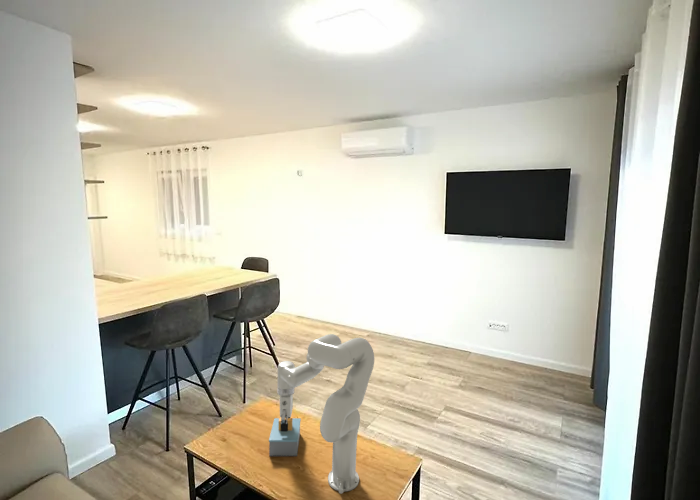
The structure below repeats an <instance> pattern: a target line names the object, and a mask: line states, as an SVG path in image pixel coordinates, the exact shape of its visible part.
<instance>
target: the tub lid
mask: <svg viewBox="0 0 700 500" xmlns="http://www.w3.org/2000/svg"><path fill="white" fill-rule="evenodd" d="M301 419H302V418H297V417H296V418H293V417H290V418H288V421H287V422H288V431H287V432H281V431H280V430H281V417H275V418H274V419H273V423H272V426H271V430H270V434H269V438H268V442H298V435H299V428H300V429H301V422H302V421H301ZM285 420H286V418H285Z"/></svg>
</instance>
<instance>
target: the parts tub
mask: <svg viewBox="0 0 700 500" xmlns="http://www.w3.org/2000/svg"><path fill="white" fill-rule="evenodd" d="M300 435H301V427H300V428H299V435H298V442H269V441H268V442H269V447H268V448H269V449H268V450H269V453H268V454H269V457H298V452H299V451H298V450H299V444H300V437H301V436H300Z"/></svg>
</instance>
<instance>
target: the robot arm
mask: <svg viewBox="0 0 700 500" xmlns="http://www.w3.org/2000/svg"><path fill="white" fill-rule="evenodd" d="M374 352H375V351H374V349H373V347H372V344H370V342H369V341H368V339H366V338H362V337H355V338H351V339H349V340H347V341H345V342H342V340H341V338H340V337H339V336H338V335H337V334H334V333H329V334H325V335H323V336H320V337H318V338H315V339H314V340H312V341H311V342H310V343H309V344H308V346H307V354H306V356H305V357H306V362H304V363H303V364H299V365H298V366H296V365H295V364H294V362H292V361H290V360H283V361H281V362H279V363H278V365H277V387H276V388H277V390H276V391H277V395H278V396H279V418H281V430H280V431H281V432H287V431H288V422H287V421H288V418H292V413H293V408H294V407H293V406H294V405H293V401H294V400H293V399H294V398H293V395H294V393H295V388H298V387H299V386H301V385H303V384H305V383H307V382H309V381H311V380H313V379H314V378H315V377H317V376H318V375H319V374H320V373H321V372H322V371H323V370H324V367H328V368H333V369H335V370H344V369H346V368H349V367H350V369H349V370H348V371H347V374H346V377H345V378H346V379H345V381H344V383H343V386H342V387H340V388H339V389H338V390H336V391H334V392H333V393H331V394H330V395H329V397H327V399H326V401H325V405H324V407H323V412H322V415H321V419H320V422H319V423H320V424H319V430H320V434H321V437H322V439H323V440H324V441H326V442H328V443H332V454H331V455H332V457H331V458H332V462H331V466H332V467H331V470H330V471H329V473H328V476H327V482H328V485H329V486H330V488H332V489H333V490H335V491H338V493H339V494H344V492H350V491H353V490H354V489H356V488H357V487H358V485H359V482H360V475H359V474H358V472H357V471H356V468H357V444H358V434H359V428H360V424H361V423H360V422H361V414H360V412H359V408H360V407H361V406H362V404H363V402H364V398H365V395H366V391H367V388H368V385H369V381H370V379H371V376H372V373H373V370H374V365H375V353H374ZM295 366H296V367H295ZM285 418H286V420H285Z"/></svg>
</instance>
